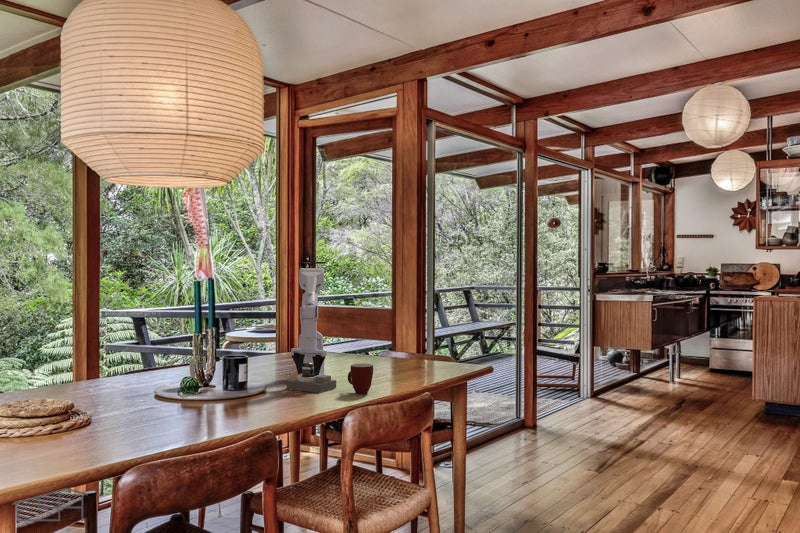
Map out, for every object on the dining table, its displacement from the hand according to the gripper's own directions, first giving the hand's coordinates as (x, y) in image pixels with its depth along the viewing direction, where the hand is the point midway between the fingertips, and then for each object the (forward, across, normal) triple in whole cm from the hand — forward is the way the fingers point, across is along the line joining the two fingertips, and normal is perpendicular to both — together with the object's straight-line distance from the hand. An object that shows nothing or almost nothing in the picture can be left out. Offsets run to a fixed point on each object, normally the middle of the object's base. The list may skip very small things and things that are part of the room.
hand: (308, 374), depth 231 cm
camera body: (+5, +2, 0) cm, 5 cm away
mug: (+5, +20, +2) cm, 21 cm away
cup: (+5, -36, -17) cm, 41 cm away
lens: (+2, 0, 0) cm, 2 cm away
